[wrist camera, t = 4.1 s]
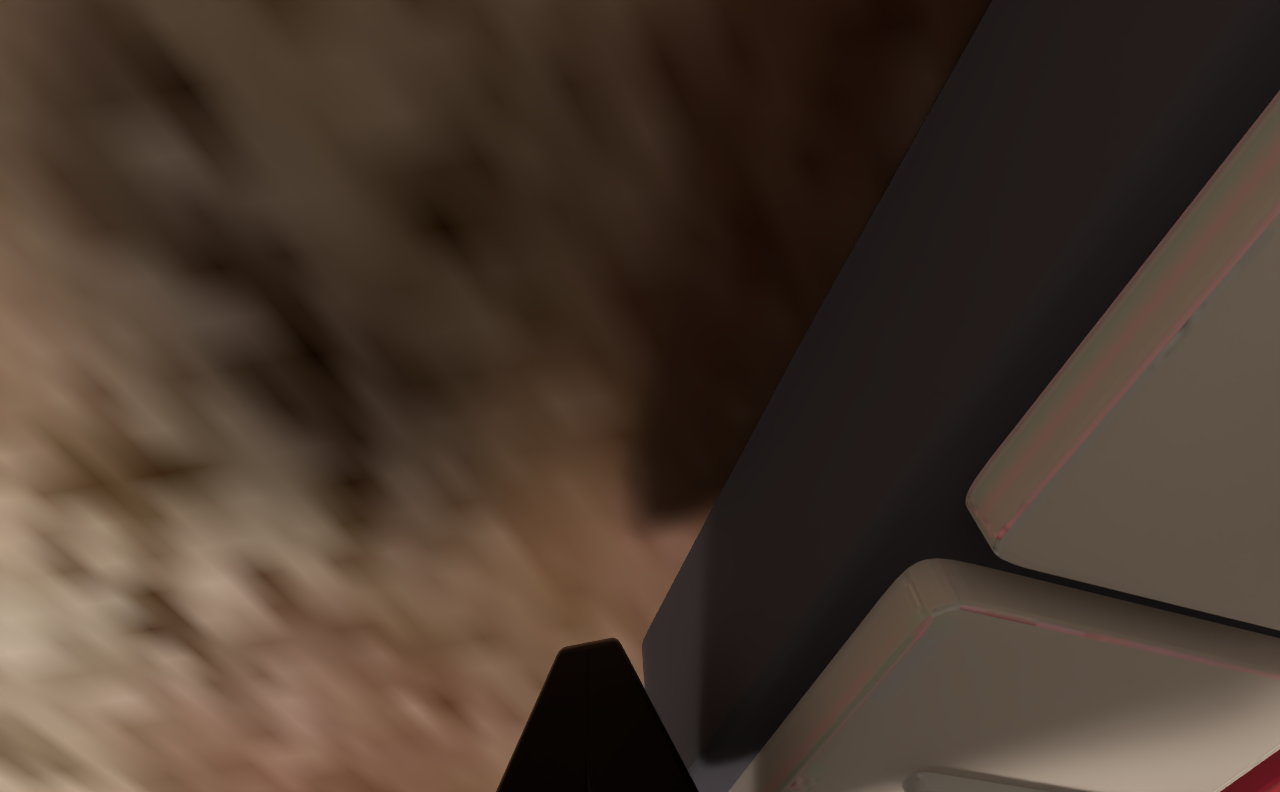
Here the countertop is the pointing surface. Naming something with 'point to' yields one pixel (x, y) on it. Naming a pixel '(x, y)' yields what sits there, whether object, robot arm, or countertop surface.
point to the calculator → (1020, 445)
